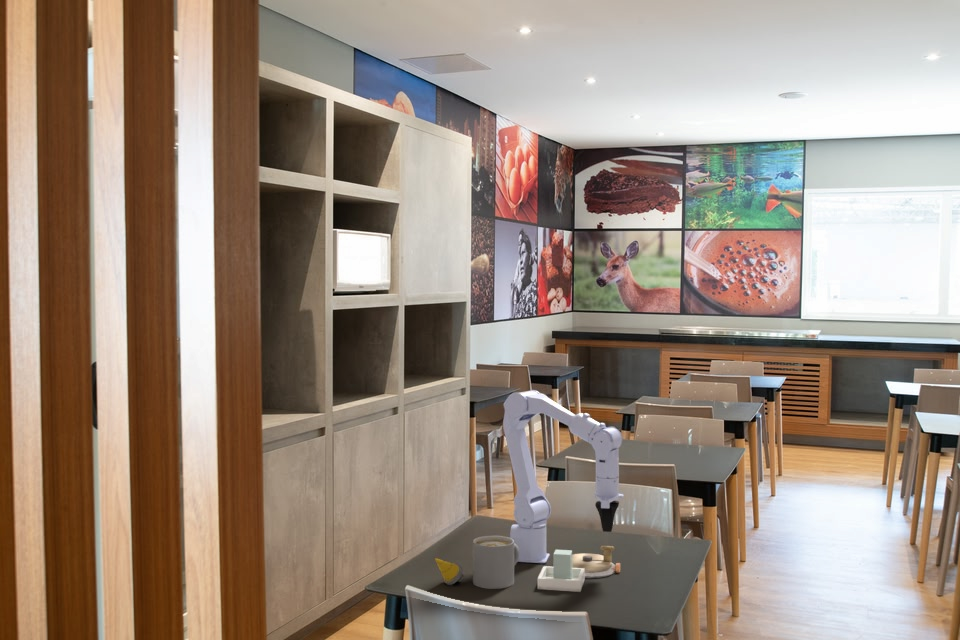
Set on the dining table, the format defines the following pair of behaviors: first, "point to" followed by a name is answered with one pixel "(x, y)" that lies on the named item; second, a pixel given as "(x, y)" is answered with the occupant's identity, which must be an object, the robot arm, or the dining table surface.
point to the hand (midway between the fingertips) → (607, 531)
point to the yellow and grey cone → (450, 571)
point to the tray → (561, 580)
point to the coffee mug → (494, 561)
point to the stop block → (562, 564)
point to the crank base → (604, 572)
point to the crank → (594, 560)
